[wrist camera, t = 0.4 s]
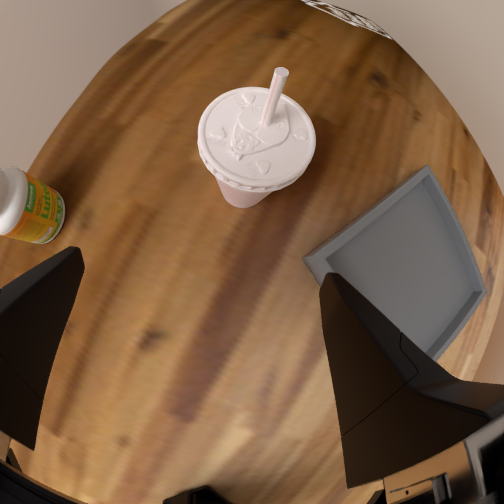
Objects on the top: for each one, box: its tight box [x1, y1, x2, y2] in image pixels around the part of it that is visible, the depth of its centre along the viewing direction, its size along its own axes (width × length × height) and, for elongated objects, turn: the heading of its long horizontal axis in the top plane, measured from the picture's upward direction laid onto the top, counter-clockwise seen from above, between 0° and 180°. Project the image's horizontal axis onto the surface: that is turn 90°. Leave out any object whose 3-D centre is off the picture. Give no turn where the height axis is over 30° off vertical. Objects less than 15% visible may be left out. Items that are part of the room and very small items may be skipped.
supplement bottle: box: [0, 166, 65, 244], centre depth 16 cm, size 5×5×10 cm
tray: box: [302, 165, 487, 362], centre depth 23 cm, size 17×17×2 cm
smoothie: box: [197, 67, 316, 208], centre depth 16 cm, size 6×6×14 cm
